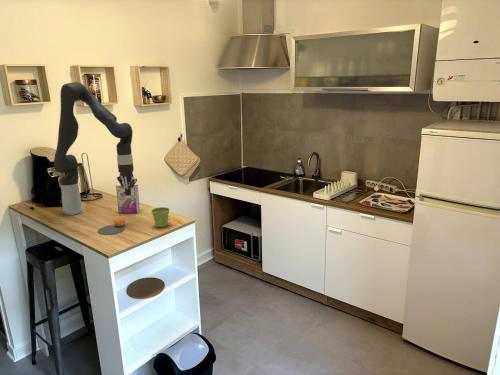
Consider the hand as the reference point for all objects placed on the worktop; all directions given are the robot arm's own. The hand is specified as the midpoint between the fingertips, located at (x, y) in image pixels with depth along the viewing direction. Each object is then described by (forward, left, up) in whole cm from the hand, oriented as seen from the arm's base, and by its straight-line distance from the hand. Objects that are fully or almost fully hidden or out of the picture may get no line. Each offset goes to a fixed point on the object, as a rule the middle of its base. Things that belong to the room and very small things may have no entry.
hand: (128, 195), depth 198 cm
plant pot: (+18, +4, -15) cm, 24 cm away
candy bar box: (-13, +11, -15) cm, 23 cm away
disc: (0, -13, -15) cm, 20 cm away
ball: (0, -7, -12) cm, 14 cm away
